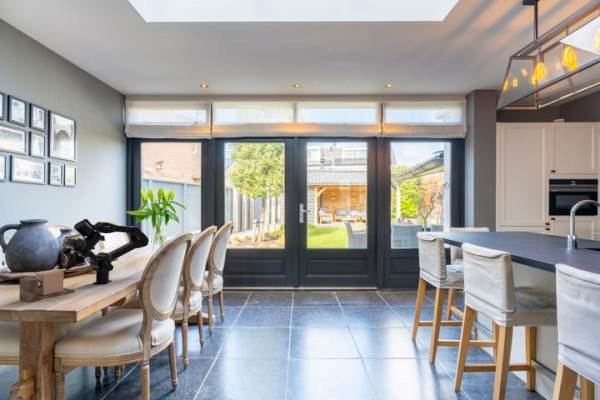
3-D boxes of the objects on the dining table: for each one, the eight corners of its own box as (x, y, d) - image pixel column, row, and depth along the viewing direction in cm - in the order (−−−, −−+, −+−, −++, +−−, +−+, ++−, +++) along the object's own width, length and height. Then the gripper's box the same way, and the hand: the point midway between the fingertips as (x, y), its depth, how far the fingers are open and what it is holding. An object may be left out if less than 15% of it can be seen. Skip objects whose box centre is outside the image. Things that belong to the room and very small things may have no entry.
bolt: (46, 284, 147) (46, 279, 147) (49, 284, 146) (49, 280, 146) (30, 287, 141) (30, 282, 141) (33, 288, 141) (33, 283, 141)
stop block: (61, 289, 156) (62, 270, 156) (74, 292, 153) (74, 272, 153) (18, 299, 140) (18, 278, 140) (30, 302, 137) (31, 280, 137)
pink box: (54, 289, 152) (55, 269, 152) (63, 290, 150) (63, 270, 150) (35, 293, 145) (35, 272, 145) (43, 295, 142) (43, 274, 142)
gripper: (65, 230, 162) (39, 257, 152) (91, 233, 155) (66, 261, 145) (81, 245, 169) (57, 271, 159) (106, 248, 162) (83, 275, 152)
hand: (65, 269), depth 154 cm, fingers closed
